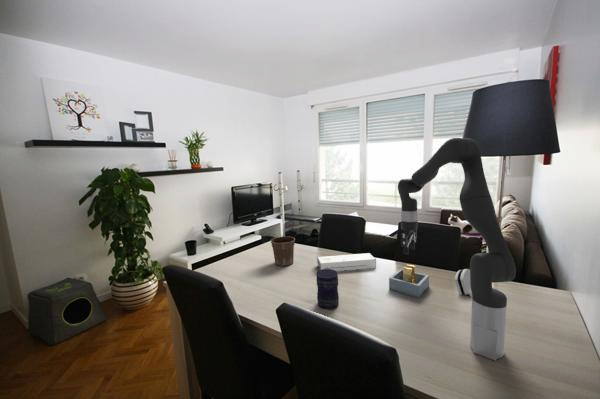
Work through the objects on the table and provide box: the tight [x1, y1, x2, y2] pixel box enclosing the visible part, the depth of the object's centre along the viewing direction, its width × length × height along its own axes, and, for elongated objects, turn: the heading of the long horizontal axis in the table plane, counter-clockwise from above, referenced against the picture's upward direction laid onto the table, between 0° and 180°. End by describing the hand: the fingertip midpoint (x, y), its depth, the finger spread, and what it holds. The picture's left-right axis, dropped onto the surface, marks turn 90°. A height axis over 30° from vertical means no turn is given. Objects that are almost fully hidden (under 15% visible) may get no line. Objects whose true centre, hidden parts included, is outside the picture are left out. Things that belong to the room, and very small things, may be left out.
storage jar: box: [316, 269, 340, 311], centre depth 121 cm, size 10×10×15 cm
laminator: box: [316, 252, 377, 272], centre depth 165 cm, size 34×12×6 cm, turn 95°
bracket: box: [402, 264, 416, 284], centre depth 132 cm, size 5×4×10 cm
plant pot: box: [270, 236, 296, 266], centre depth 175 cm, size 16×16×16 cm
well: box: [388, 268, 430, 299], centre depth 133 cm, size 14×14×6 cm
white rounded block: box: [454, 268, 472, 298], centre depth 130 cm, size 17×5×10 cm, turn 137°
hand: (409, 251), depth 131 cm, fingers open, 8 cm apart
